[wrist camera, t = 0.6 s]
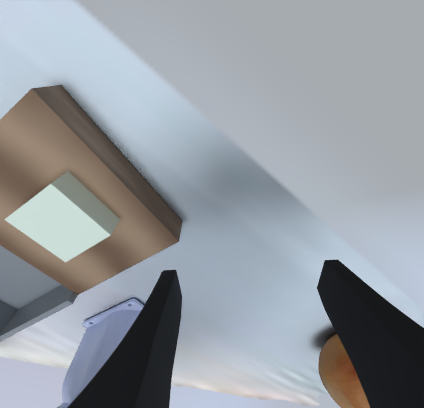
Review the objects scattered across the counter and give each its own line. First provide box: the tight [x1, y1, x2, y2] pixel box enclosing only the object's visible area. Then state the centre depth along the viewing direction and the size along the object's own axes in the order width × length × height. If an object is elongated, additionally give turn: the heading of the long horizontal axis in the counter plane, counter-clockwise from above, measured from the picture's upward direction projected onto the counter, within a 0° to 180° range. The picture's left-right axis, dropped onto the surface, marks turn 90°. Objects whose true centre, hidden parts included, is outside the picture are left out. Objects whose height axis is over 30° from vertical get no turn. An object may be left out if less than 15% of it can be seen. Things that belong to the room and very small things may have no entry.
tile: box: [4, 171, 120, 262], centre depth 16 cm, size 5×5×2 cm
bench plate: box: [0, 85, 182, 295], centre depth 19 cm, size 13×14×3 cm
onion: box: [319, 333, 370, 408], centre depth 29 cm, size 10×10×10 cm
